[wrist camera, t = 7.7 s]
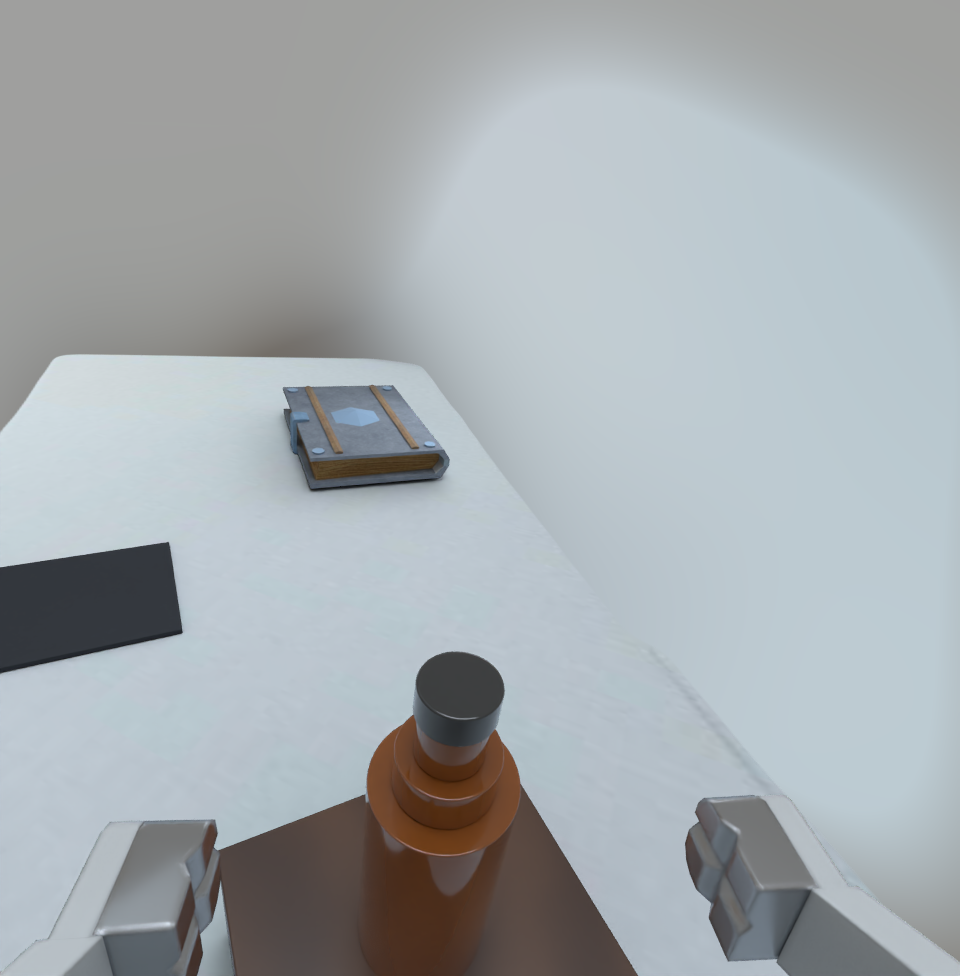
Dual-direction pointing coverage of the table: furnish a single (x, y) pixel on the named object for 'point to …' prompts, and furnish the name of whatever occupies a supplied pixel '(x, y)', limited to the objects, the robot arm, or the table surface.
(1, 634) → the mat
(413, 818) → the bottle
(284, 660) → the table surface
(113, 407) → the table surface
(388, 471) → the book
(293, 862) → the shelf
